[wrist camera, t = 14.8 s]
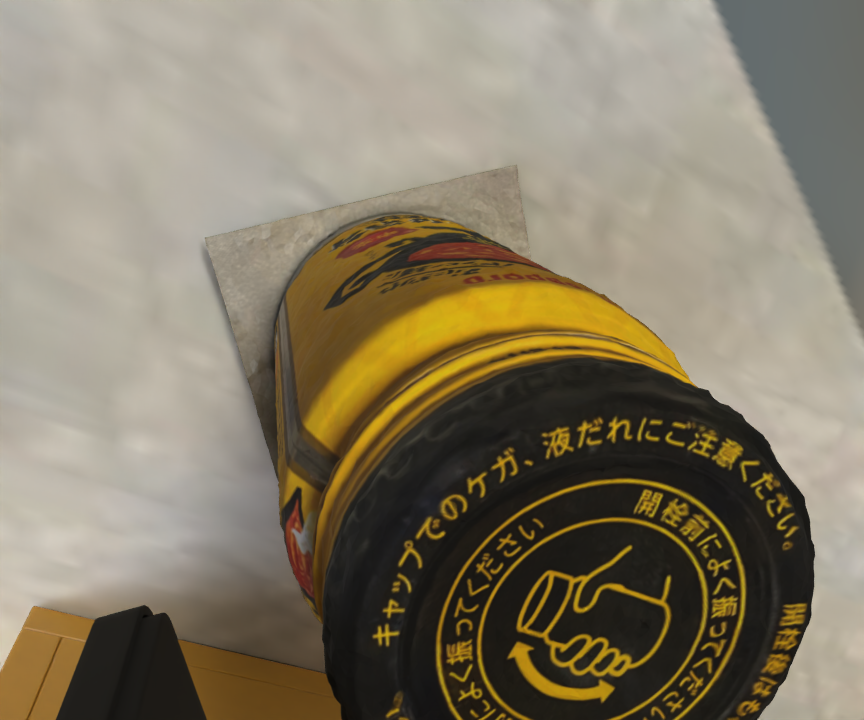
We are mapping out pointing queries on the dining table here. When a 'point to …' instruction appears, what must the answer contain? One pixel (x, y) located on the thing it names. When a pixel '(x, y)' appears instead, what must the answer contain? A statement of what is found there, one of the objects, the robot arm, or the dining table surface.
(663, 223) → the dining table surface
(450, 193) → the condiment
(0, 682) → the open wooden box
